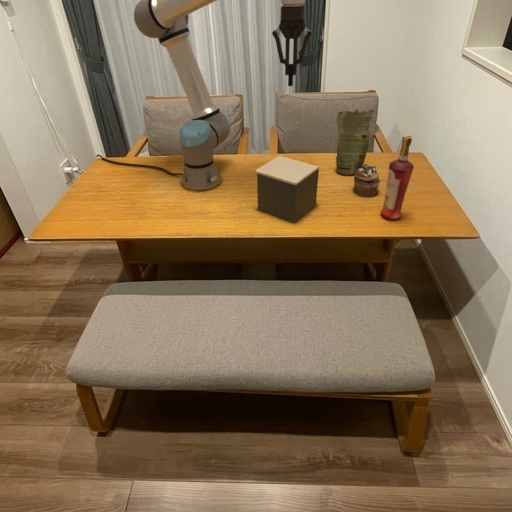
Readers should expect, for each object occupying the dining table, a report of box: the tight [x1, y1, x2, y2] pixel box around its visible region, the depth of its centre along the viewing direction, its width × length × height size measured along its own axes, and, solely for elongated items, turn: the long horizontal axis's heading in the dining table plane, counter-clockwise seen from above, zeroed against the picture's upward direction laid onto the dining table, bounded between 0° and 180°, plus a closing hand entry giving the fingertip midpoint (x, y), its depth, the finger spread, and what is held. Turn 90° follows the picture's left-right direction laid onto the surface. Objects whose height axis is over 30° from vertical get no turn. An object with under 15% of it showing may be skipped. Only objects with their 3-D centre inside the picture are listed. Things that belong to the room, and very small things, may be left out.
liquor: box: [380, 135, 415, 220], centre depth 125 cm, size 7×7×28 cm
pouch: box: [335, 109, 376, 176], centre depth 155 cm, size 11×12×25 cm
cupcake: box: [353, 163, 381, 197], centre depth 145 cm, size 10×10×10 cm
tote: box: [256, 168, 320, 224], centre depth 136 cm, size 16×15×14 cm
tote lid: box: [254, 155, 320, 185], centre depth 131 cm, size 16×15×1 cm
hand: (290, 85), depth 135 cm, fingers closed
